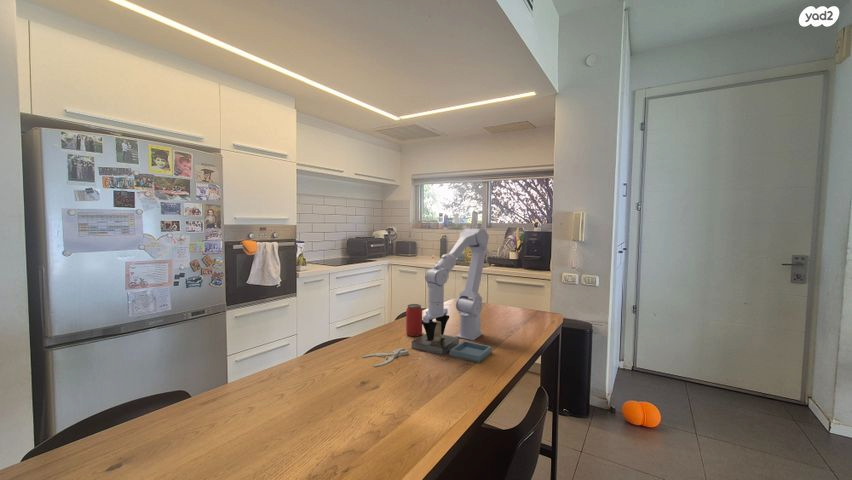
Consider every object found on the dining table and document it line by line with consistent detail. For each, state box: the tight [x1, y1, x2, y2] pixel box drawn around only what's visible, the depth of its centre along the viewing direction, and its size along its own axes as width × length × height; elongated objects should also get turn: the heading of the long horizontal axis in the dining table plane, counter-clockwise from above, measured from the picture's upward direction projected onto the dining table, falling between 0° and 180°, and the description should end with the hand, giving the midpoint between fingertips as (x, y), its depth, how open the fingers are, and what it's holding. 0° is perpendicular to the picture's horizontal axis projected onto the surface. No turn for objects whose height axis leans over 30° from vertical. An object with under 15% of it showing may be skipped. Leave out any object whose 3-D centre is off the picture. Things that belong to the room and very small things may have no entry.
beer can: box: [405, 303, 423, 337], centre depth 142 cm, size 7×7×12 cm
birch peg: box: [430, 320, 441, 343], centre depth 129 cm, size 4×4×9 cm
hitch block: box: [411, 333, 460, 356], centre depth 129 cm, size 13×13×2 cm
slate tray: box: [449, 340, 493, 364], centre depth 121 cm, size 11×11×2 cm
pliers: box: [361, 347, 410, 368], centre depth 118 cm, size 10×2×15 cm
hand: (435, 337), depth 129 cm, fingers open, 7 cm apart
